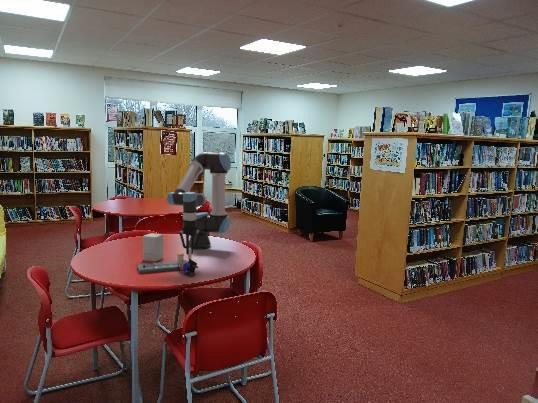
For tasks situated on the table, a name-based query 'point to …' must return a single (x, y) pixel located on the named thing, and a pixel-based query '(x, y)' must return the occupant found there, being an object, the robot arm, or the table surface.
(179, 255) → the block
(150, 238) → the supplement box
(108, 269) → the table surface
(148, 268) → the panel
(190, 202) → the robot arm
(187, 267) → the character figurine
